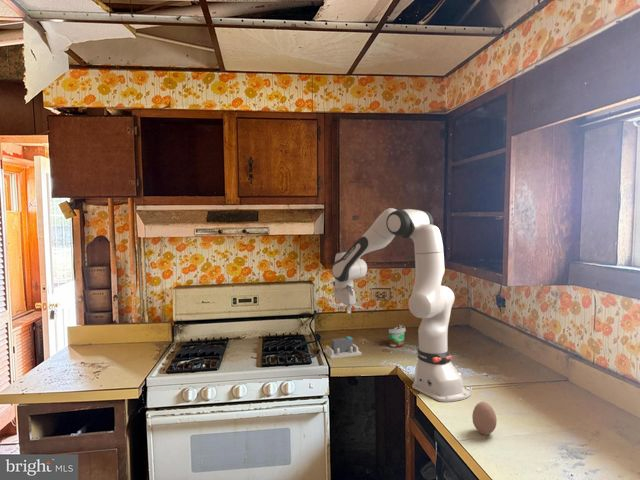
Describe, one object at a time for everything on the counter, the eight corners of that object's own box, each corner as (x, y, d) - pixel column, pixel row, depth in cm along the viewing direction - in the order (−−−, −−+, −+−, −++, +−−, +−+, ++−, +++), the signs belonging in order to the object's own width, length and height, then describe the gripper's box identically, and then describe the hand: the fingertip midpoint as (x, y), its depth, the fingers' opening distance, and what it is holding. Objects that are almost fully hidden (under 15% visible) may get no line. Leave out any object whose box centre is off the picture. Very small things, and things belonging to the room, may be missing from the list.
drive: (353, 351, 195) (352, 338, 195) (334, 353, 192) (333, 340, 191) (350, 348, 199) (349, 336, 198) (331, 351, 195) (331, 338, 195)
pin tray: (361, 354, 192) (361, 346, 192) (331, 359, 187) (330, 350, 187) (352, 347, 203) (352, 340, 203) (323, 351, 198) (323, 343, 198)
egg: (490, 427, 122) (489, 396, 121) (500, 439, 115) (500, 406, 115) (468, 428, 122) (468, 397, 121) (478, 440, 115) (478, 407, 114)
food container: (399, 350, 197) (399, 330, 197) (388, 348, 201) (388, 329, 201) (409, 343, 207) (409, 325, 207) (399, 342, 211) (399, 323, 210)
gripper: (358, 286, 185) (359, 314, 185) (342, 280, 204) (343, 307, 205) (346, 287, 183) (347, 316, 183) (331, 281, 202) (332, 308, 203)
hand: (345, 311), depth 194 cm, fingers open, 8 cm apart
